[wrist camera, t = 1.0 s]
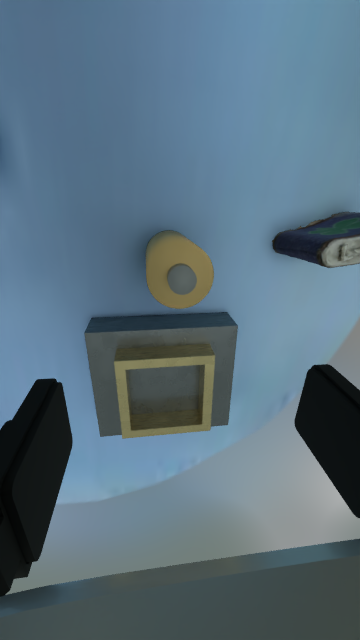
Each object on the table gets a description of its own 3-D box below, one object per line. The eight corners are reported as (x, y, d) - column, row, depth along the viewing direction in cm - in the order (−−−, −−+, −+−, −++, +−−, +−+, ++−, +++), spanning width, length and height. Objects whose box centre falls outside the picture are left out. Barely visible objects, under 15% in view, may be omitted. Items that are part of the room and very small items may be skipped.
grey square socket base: (91, 317, 30) (78, 345, 24) (227, 312, 32) (245, 336, 26) (104, 413, 36) (96, 454, 30) (219, 403, 38) (233, 440, 32)
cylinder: (144, 230, 27) (144, 244, 17) (192, 230, 28) (220, 243, 18) (146, 277, 29) (148, 315, 19) (191, 276, 30) (215, 313, 20)
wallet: (349, 208, 29) (453, 209, 19) (350, 234, 30) (448, 248, 20) (269, 234, 29) (332, 248, 19) (273, 259, 30) (334, 285, 21)
